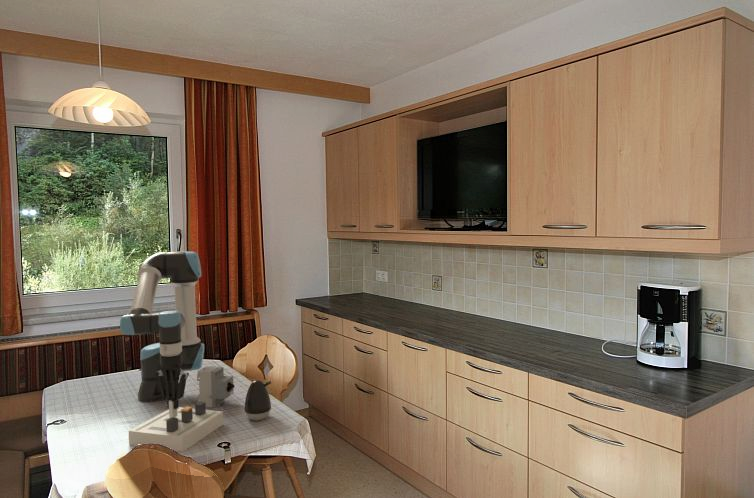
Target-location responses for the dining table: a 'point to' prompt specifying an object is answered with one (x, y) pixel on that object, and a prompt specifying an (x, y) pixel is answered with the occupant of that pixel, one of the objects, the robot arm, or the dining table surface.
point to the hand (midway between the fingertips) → (173, 417)
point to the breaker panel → (173, 436)
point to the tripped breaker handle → (187, 414)
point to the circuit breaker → (214, 386)
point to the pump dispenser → (257, 401)
